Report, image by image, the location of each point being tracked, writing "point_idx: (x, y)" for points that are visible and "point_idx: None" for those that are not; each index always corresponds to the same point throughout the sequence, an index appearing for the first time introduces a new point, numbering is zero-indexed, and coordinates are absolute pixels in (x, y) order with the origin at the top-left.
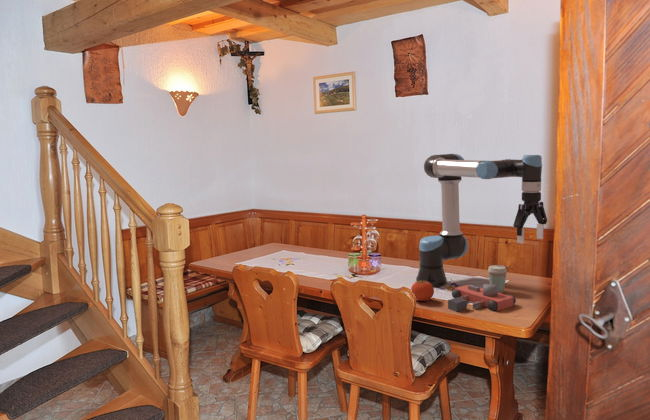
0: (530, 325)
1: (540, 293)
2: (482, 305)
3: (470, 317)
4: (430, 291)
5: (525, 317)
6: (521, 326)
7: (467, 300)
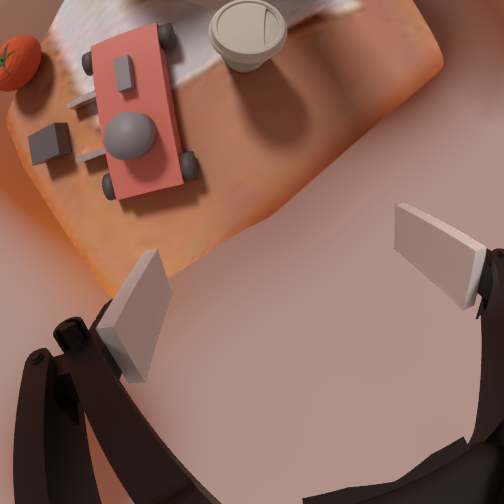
0: None
1: (345, 132)
2: None
3: (54, 206)
4: (13, 87)
5: None
6: None
7: None
